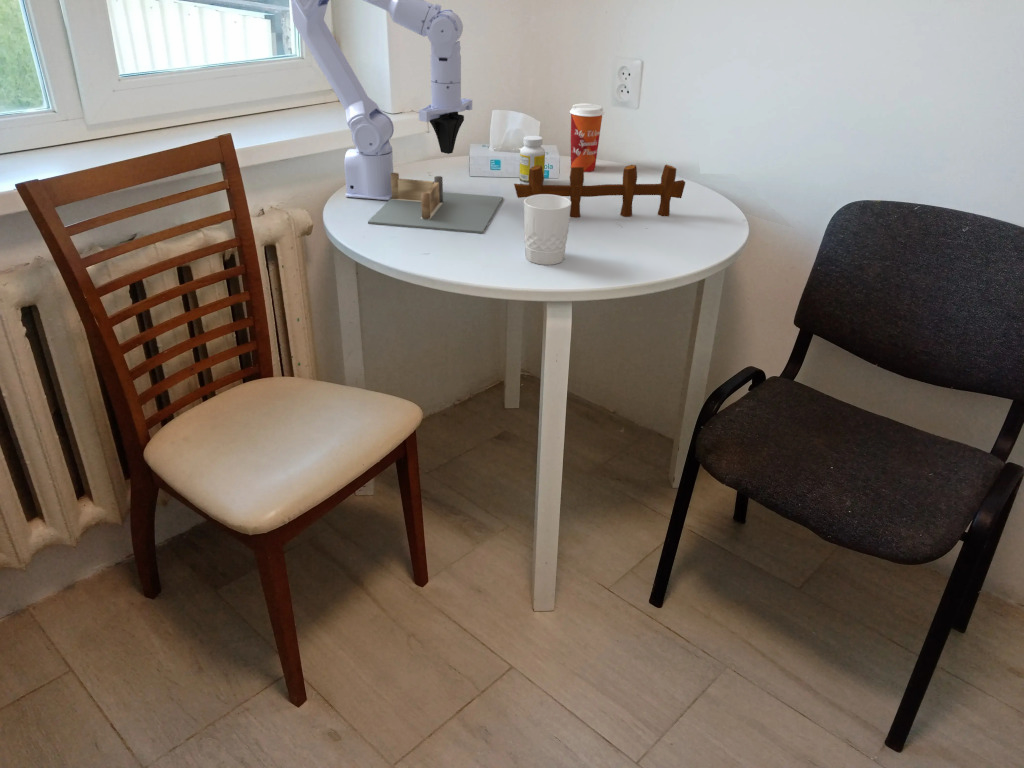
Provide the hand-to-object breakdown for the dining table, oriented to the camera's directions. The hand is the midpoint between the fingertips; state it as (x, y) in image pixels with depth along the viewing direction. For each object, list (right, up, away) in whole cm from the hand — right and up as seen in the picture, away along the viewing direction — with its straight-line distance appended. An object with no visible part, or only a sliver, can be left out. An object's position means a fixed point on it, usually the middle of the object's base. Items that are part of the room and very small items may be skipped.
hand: (446, 152), depth 158 cm
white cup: (+19, -25, -22) cm, 38 cm away
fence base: (-6, -9, +2) cm, 11 cm away
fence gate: (-3, -12, -4) cm, 13 cm away
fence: (+30, -13, -2) cm, 33 cm away
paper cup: (+30, +4, +26) cm, 40 cm away
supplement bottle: (+17, -2, +16) cm, 23 cm away
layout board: (-1, -12, -2) cm, 12 cm away
